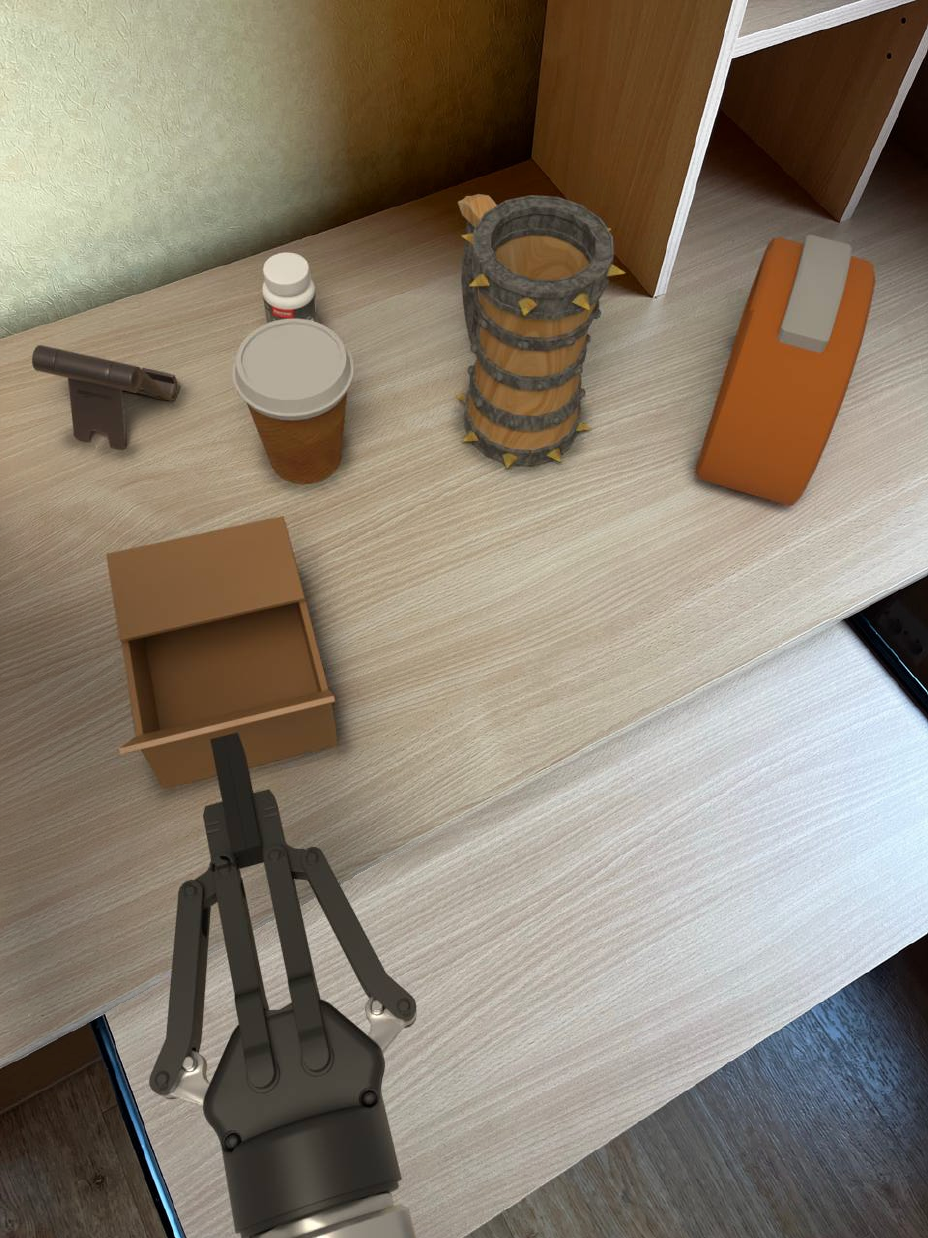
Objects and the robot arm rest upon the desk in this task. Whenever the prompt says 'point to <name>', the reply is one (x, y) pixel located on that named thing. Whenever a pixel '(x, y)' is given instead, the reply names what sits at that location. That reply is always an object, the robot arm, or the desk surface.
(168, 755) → the carton
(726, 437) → the alarm clock
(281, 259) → the pill bottle
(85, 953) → the desk surface
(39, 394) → the desk surface
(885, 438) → the desk surface
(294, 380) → the disposable coffee cup
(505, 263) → the mug
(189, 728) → the flap
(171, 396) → the tablet stand
